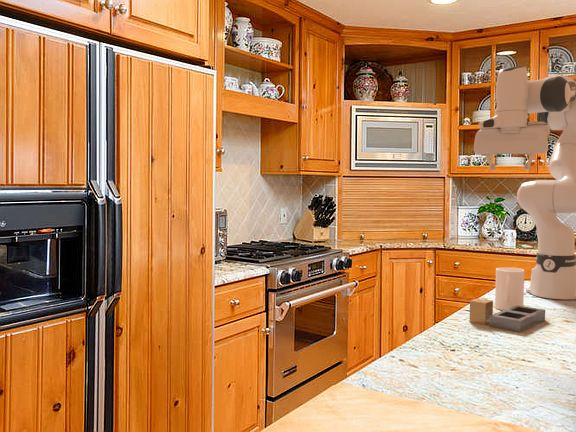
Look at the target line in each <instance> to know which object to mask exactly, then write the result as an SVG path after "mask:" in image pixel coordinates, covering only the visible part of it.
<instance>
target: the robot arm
mask: <svg viewBox="0 0 576 432" xmlns="http://www.w3.org/2000/svg"><path fill="white" fill-rule="evenodd" d="M528 77H529V76H528V68H527V67H526V66H524V65H516V66H510V67H504V68H502V69H500V70H499V71H498V74H497V78H496V84H495V85H496V86H495V101H496V108H495V110H494V111H495V112H494V116H493V117H489V118H486V119H484V120H481V121H479V122H478V128H479V130H477V132H476V133H475V137H474V142H473V152H474V154H475V155H480V156H481V155H484V156H485V159H486V160H487V162H488V164H489V170H490V171H496V163H493V162H492V160H491V159H492V155H528V157H529V160H528V162H527V163H524V165H523V168H524V169H523V170H525V171H530V169H531V164H532V162H533V161H534V159H535V155H536V154H538V155H539V154H540V155H541V154H542V155H545V154H546V153H547V152H548V151H549V143H548V142H549V141H548V137H549V135H550V134H551V132H554V131H562V133H561V134H560V136H559V137H558V139H557V141H556V143H555V145H554V148H553V151H552V153H551V157H550V160H549V163H548V171H549V174H550V176H551V177H553V178H554V179H536V180H530V181H526V182H522V184H521V185H520V186H519V188H518V190H517V193H516V200H517V204H518V205H519V206H520V208H521V209H522V210H524V211H525V212H526V213H527V214H528V216H530V217H531V218H532V220H533V222H534V224H535V228H536V231H537V233H536V234H537V252H536V256H535V263H536V265H535V266H534V267H533V268H531V275H530V282H529V285H530V286H529V287H527V288H526V290H525V292H527V293H530V294H531V295H533V296H535V297H540V298H544V299H552V300H554V299H555V300H576V254H575V246H576V244H575V242H576V241H575V239H576V236H575V231H574V230H573V228H572V227H570V226H569V225H567V224H565V223H564V222H562V221H560V220H559V219H558V216H557V214H576V80H575V79H573V78H571V77H569V76H566V75H561V74H557V75H550V76H546V77H544V78H540V79H535V80H534V79H533V80H529V78H528ZM528 114H536V121H528V116H529V115H528Z"/></svg>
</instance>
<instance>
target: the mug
mask: <svg viewBox="0 0 576 432" xmlns="http://www.w3.org/2000/svg"><path fill="white" fill-rule="evenodd" d="M494 292H495V294H494V296H495V297H494V304H493V308H495V309H497V310H500V311H503V310H506V309H508V308H511V307H513V306H516V305H519V306H525V305H524V301H525V300H524V296H525V293H524V292H525V269H523V268H520V267H519V268H518V267H513V266H512V267H510V266H509V267H508V266H506V267H505V266H504V267H503V266H502V267H500V266H499V267H496V268H495V291H494Z"/></svg>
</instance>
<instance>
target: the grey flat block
mask: <svg viewBox="0 0 576 432" xmlns="http://www.w3.org/2000/svg"><path fill="white" fill-rule="evenodd" d="M545 321H546V309H542V308H536V307H531V306H525V305H524V306H519V305H516V306H513V307H511V308H508V309H506V310H500V311H499V312H496V313H493V315H491V316H490V323H489V327H490V328H495V329H501V330H506V331H511V332H514V333H515V332H517V333H523V332H524V331H526V330H528V329H530V328H532V327H535V326H536V325H539V324H541V323H542V322H545Z"/></svg>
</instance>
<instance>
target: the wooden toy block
mask: <svg viewBox="0 0 576 432" xmlns="http://www.w3.org/2000/svg"><path fill="white" fill-rule="evenodd" d="M493 314H494V301H493V300H491V299H484V298H479V297H478V298H473V299H471V300H470V301H469V323H474V324H477V325H478V324H479V325H482V326H487V325H490V316H491V315H493Z"/></svg>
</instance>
